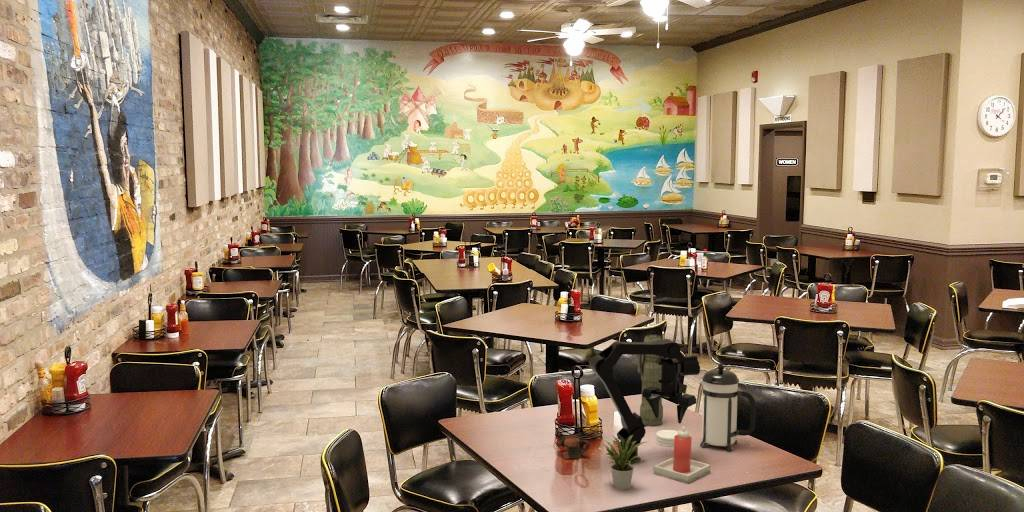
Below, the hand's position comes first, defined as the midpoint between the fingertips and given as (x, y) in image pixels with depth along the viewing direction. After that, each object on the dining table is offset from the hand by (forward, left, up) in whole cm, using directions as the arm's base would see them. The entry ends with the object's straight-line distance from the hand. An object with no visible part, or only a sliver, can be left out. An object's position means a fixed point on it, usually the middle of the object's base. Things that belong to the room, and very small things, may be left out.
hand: (668, 420), depth 290 cm
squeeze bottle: (-10, -12, -12) cm, 19 cm away
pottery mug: (-21, +25, -13) cm, 35 cm away
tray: (-10, -12, -13) cm, 20 cm away
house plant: (-32, -5, -13) cm, 35 cm away
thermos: (+29, +26, -13) cm, 41 cm away
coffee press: (+24, -8, -13) cm, 29 cm away
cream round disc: (+14, +8, -14) cm, 21 cm away
